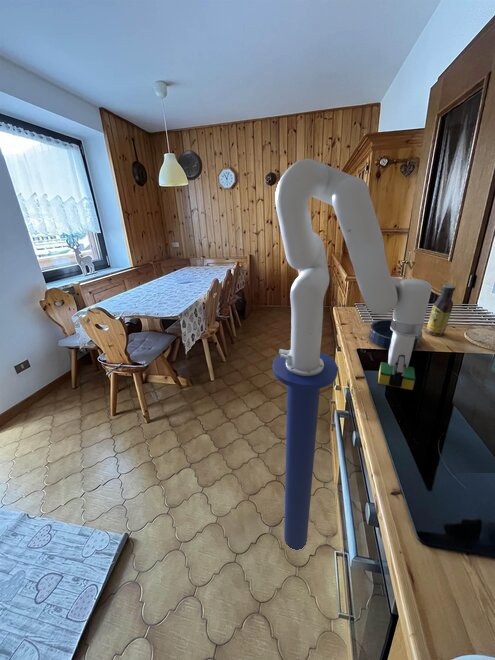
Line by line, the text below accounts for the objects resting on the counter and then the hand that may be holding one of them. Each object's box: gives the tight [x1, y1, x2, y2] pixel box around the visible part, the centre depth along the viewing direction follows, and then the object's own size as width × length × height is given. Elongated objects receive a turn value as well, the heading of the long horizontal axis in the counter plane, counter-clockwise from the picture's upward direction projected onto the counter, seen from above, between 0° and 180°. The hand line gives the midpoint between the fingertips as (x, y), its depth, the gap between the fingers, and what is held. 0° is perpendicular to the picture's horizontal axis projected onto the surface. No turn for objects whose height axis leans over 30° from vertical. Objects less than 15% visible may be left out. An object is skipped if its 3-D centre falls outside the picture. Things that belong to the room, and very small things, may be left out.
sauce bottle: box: [426, 283, 457, 337], centre depth 108 cm, size 7×6×20 cm
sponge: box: [377, 361, 416, 391], centre depth 84 cm, size 9×6×4 cm, turn 65°
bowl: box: [368, 319, 423, 351], centre depth 108 cm, size 18×18×5 cm
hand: (394, 378), depth 85 cm, fingers closed on sponge, 6 cm apart
